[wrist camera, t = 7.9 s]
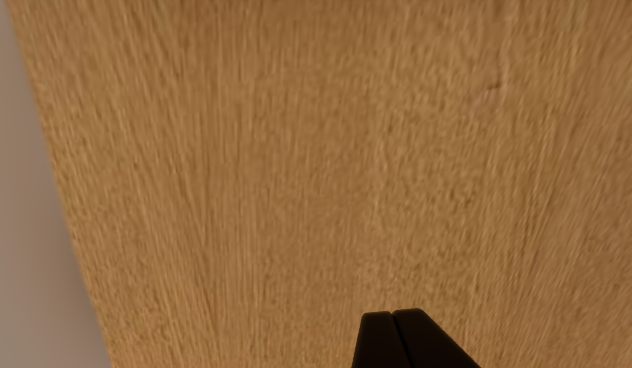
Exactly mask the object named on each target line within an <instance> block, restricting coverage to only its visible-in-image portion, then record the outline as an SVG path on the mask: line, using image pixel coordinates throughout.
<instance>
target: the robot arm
mask: <svg viewBox="0 0 632 368" xmlns="http://www.w3.org/2000/svg"><path fill="white" fill-rule="evenodd" d="M351 368H481V367H480V366H479V365H478V364H477V363H476V362H475V361H474V360H473V359H472V358H471V357H470V356H469V355H468V354H467V353H466V352H465V351H464V350H463V349H462V348H461V347H460V346H459V345H458V344H457V343H456V342H455V341H454V340H453V339H452V338H451V337H450V336H449V335H448V334H446V333H445V332H444V331H443V330H442V329H441V328H440V327H439V326H438V325H437V324H436V323H435V322H434V321H433V320H432V319H431V318H430V317H429V316H428V315H427V314H426V313H425V312H424V311H423V310H421V309H419V308H413V309H402V310H395V311H394V312H393V313H392V314H391V313H390V312H389V311H381V312H370V313H365V314H363V316H362V319H361V323H360V328H359V333H358V338H357V342H356V347H355V352H354V357H353V362H352V367H351Z"/></svg>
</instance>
